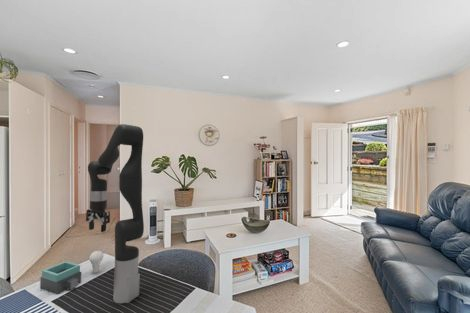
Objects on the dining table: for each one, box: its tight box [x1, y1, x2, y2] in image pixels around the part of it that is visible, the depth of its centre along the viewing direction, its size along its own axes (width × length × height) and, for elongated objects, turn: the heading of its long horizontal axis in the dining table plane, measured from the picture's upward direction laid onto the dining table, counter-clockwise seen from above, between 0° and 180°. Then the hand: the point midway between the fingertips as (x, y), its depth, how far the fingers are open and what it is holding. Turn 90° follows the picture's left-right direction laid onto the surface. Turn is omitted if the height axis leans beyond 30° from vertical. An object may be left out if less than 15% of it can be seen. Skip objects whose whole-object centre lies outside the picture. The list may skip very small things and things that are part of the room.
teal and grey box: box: [39, 261, 82, 295], centre depth 99 cm, size 15×10×8 cm, turn 70°
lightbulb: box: [89, 250, 104, 274], centre depth 111 cm, size 6×6×11 cm
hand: (97, 230), depth 112 cm, fingers open, 8 cm apart
